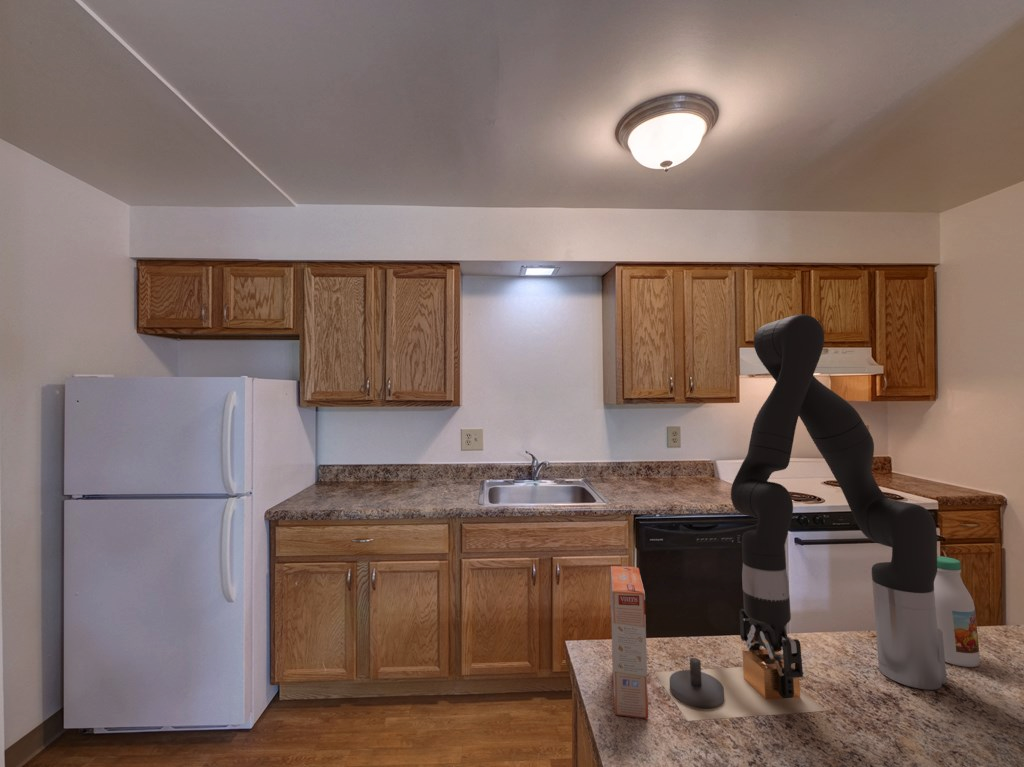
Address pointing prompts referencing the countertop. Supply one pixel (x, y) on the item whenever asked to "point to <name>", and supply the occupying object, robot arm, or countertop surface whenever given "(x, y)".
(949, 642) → the milk bottle
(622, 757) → the countertop surface
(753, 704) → the board
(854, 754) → the countertop surface
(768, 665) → the hollow wooden cube
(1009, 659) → the countertop surface
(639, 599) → the cracker box
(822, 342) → the robot arm
